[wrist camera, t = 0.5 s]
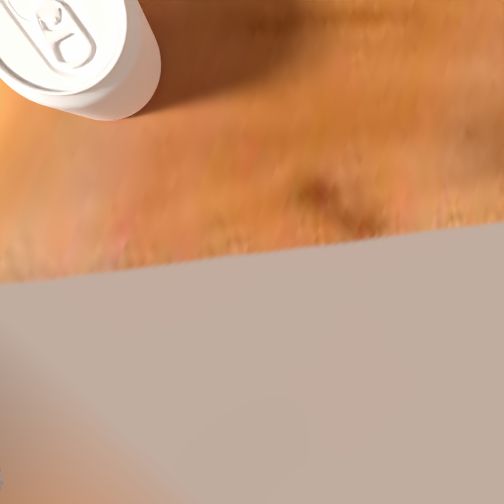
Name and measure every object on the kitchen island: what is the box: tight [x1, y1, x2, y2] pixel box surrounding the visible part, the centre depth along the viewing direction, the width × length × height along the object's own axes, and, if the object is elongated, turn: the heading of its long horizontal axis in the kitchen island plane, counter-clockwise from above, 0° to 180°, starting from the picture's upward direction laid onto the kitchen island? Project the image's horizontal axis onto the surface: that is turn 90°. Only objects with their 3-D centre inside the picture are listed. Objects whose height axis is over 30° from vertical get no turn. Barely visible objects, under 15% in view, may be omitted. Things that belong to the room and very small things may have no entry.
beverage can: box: [0, 0, 161, 121], centre depth 27 cm, size 8×8×12 cm
